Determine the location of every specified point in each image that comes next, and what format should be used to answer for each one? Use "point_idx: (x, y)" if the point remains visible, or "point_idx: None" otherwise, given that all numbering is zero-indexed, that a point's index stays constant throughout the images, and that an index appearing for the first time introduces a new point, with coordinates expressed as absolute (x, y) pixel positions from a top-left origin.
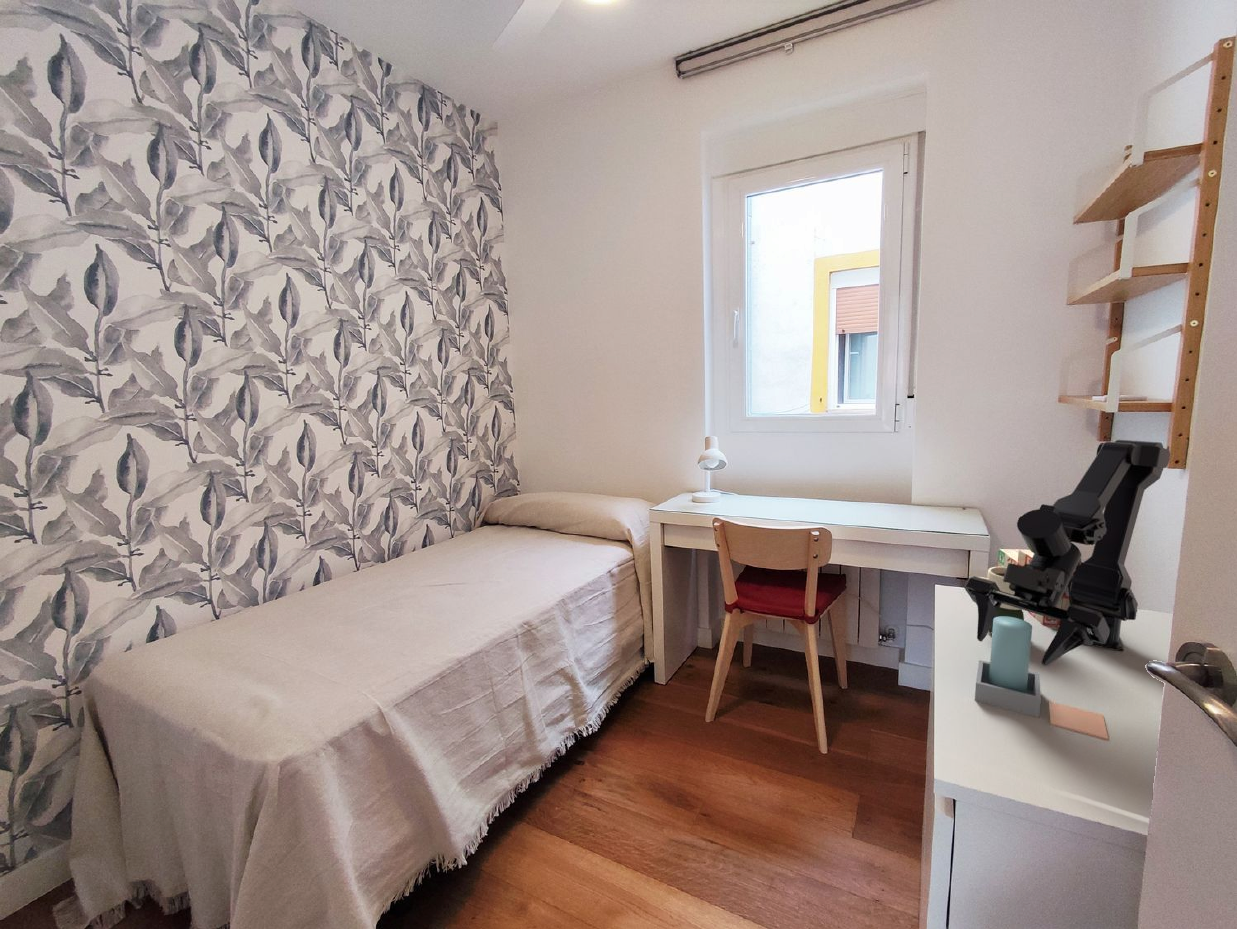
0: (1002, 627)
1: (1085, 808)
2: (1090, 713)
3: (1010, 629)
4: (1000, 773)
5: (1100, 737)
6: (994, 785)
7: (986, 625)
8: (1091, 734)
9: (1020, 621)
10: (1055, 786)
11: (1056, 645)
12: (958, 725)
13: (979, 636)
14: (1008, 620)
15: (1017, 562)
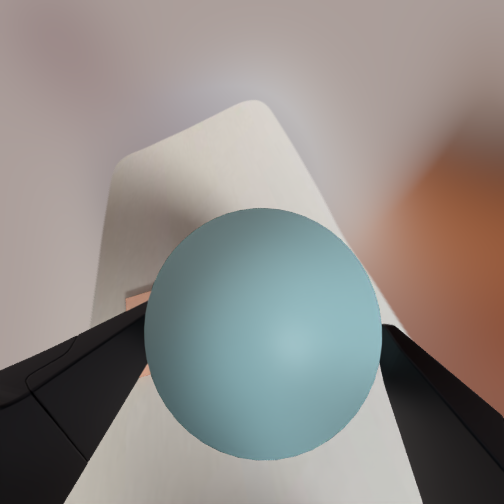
0: (277, 209)
1: (150, 153)
2: (147, 366)
3: (237, 213)
4: (221, 138)
5: (135, 296)
6: (220, 120)
7: (420, 410)
8: (145, 292)
9: (223, 397)
10: (175, 161)
11: (88, 334)
12: (291, 181)
13: (390, 329)
14: (291, 346)
15: None
